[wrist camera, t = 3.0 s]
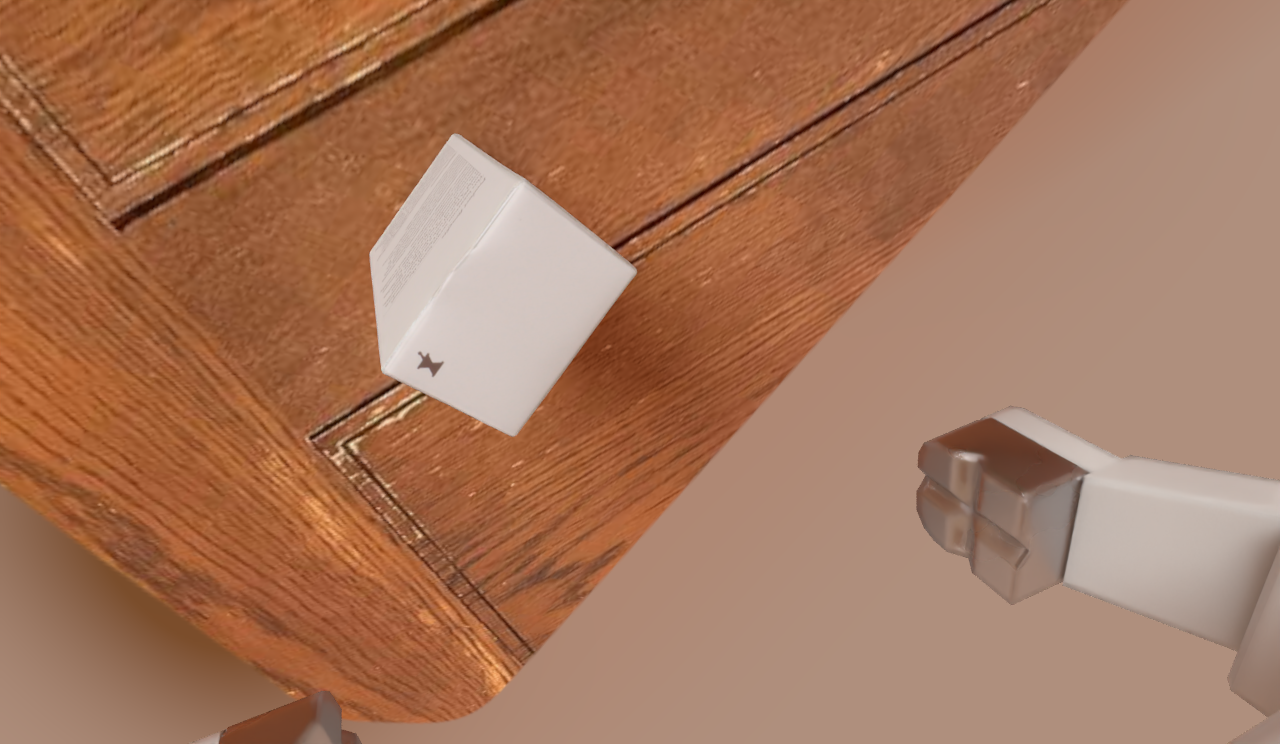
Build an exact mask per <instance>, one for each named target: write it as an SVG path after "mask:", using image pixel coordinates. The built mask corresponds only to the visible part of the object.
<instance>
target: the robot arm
mask: <svg viewBox="0 0 1280 744" xmlns="http://www.w3.org/2000/svg"><path fill="white" fill-rule="evenodd" d="M918 468H919V469H920V470H921V471H922V472H923V473H924V474H925V475H926V476H925V478H924V479H923V481H922V483H921V485H920V487H919V488H918V490H917V512H918V514H919V517H920V519H921V521H922V524H923V526H924V528H925V529H926V531H927V532H928V533H929V535H930V536H931V537H932V538H933V540H934V541H935V542H936V543H937V544H939V545H940V546H941V547H942V548H943V549H944V550H946V551H947V552H949V553H953V554H956V555H960V556H963V557H966V558H969V562H970V566H971V570H972V573H973V574H974V575H975V576H977V577H978V578H979V579H980V580H982V581H983V582H984V583H985V584H987V585H988V586H989V587H990V588H991V589H992V590H994V591H995V592H996V593H997V594H999V595H1000V596H1001V597H1002V598H1003V599H1005V600H1006V601H1007V602H1008V603H1009V604H1011V605H1014V604H1016V603H1018V602H1020V601H1022V600H1024V599H1027V598H1029V597H1031V596H1033V595H1035V594H1037V593H1039V592H1042V591H1044V590H1046V589H1048V588H1050V587H1052V586H1054V585H1057V584H1059V583H1061V582H1063V586H1066V587H1068V588H1071V589H1074V590H1076V591H1079V592H1082V593H1084V594H1087V595H1090V596H1092V597H1095V598H1098V599H1100V600H1103V601H1106V602H1108V603H1111V604H1113V605H1116V606H1119V607H1121V608H1124V609H1127V610H1129V611H1132V612H1134V613H1137V614H1140V615H1142V616H1145V617H1148V618H1150V619H1153V620H1156V621H1158V622H1161V623H1163V624H1166V625H1169V626H1171V627H1174V628H1177V629H1179V630H1182V631H1185V632H1188V633H1190V634H1193V635H1195V636H1198V637H1201V638H1203V639H1206V640H1208V641H1211V642H1214V643H1216V644H1219V645H1222V646H1224V647H1227V648H1229V649H1232V650H1235V651H1237V655H1236V657H1235V660H1234V663H1233V665H1232V668H1231V670H1230V673H1229V675H1228V682H1229V686H1230V690H1231V691H1232V692H1234V693H1235V694H1237V695H1238V696H1239V697H1241V698H1242V699H1243V700H1245V701H1246V702H1247V703H1249V704H1250V705H1252V706H1253V707H1254V708H1256V709H1257V710H1258V711H1260V712H1261V713H1262V714H1264V715H1265V716H1267V717H1268V718H1266V719H1265V720H1263V721H1262V722H1260V723H1259V724H1257V725H1255V726H1254V727H1252V728H1251V729H1249V730H1248V731H1246V732H1244V733H1243V734H1241V735H1240V736H1238V737H1237V738H1235V739H1234V740H1232V741H1230V742H1229V743H1227V744H1280V480H1275V479H1269V478H1263V477H1257V476H1251V475H1245V474H1239V473H1233V472H1227V471H1221V470H1215V469H1210V468H1203V467H1198V466H1191V465H1186V464H1179V463H1174V462H1167V461H1161V460H1156V459H1150V458H1143V457H1138V456H1132V455H1130V456H1128V457H1125V458H1123V459H1121V458H1119V457H1117V456H1115V455H1113V454H1111V453H1109V452H1108V451H1106V450H1103V449H1102V448H1100V447H1098V446H1096V445H1094V444H1092V443H1090V442H1088V441H1086V440H1084V439H1082V438H1081V437H1079V436H1077V435H1075V434H1072V433H1071V432H1069V431H1067V430H1065V429H1063V428H1061V427H1059V426H1057V425H1055V424H1053V423H1051V422H1050V421H1048V420H1046V419H1044V418H1042V417H1040V416H1038V415H1036V414H1034V413H1032V412H1030V411H1028V410H1027V409H1024V408H1021V407H1014V406H1009V407H1007V408H1005V409H1002V410H1000V411H997V412H995V413H993V414H991V415H988V416H986V417H984V418H982V419H980V420H977V421H974V422H972V423H969V424H967V425H965V426H962V427H960V428H958V429H955V430H953V431H951V432H949V433H946V434H944V435H941V436H939V437H937V438H934V439H932V440H929V441H927V442H925V443H924V444H923V446H922V447H921V449H920V451H919V455H918ZM341 712H342V709H341V708H340V706H339V705H338V703H337V702H336V700H335V699H334V697H333V696H332V694H331V693H330V691H321V692H318V693H315V694H313V695H310V696H308V697H305V698H302V699H300V700H297V701H295V702H292V703H290V704H287V705H284V706H282V707H279V708H277V709H274V710H271V711H269V712H266V713H264V714H261V715H258V716H256V717H253V718H251V719H248V720H246V721H243V722H240V723H238V724H235V725H232V726H230V727H228V728H227V729H225V730H222V731H220V732H217V733H215V734H212V735H209V736H207V737H204V738H202V739H199V740H196V741H194V742H191V743H188V744H362V743H361V741H360V740H359V738H358V736H357V734H356V733H352V732H349V731H345V730H342V729H341Z"/></svg>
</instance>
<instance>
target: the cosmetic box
mask: <svg viewBox="0 0 1280 744" xmlns="http://www.w3.org/2000/svg"><path fill="white" fill-rule="evenodd" d="M369 256H370V266H371V276H372V283H373V293H374V304H375V313H376V322H377V333H378V344H379V353H380V362H381V370H382V372H383V374H385V375H387V376H389V377H391V378H393V379H395V380H397V381H400V382H402V383H404V384H406V385H408V386H410V387H412V388H414V389H416V390H418V391H420V392H422V393H424V394H426V395H428V396H431V397H433V398H435V399H437V400H439V401H441V402H443V403H445V404H447V405H449V406H451V407H453V408H455V409H457V410H459V411H461V412H463V413H465V414H467V415H469V416H471V417H473V418H475V419H477V420H479V421H481V422H483V423H485V424H487V425H489V426H491V427H493V428H495V429H497V430H499V431H501V432H503V433H505V434H507V435H509V436H511V437H514V436H516V435H517V434H518V433H519V431H520V430H521V429H522V427H523V426H524V425H525V423H526V422H527V421H528V419H529V418H530V417H531V415H532V414H533V413H534V411H535V410H536V409H537V407H538V406H539V405H540V403H541V402H542V401H543V399H544V398H545V397H546V395H547V394H548V393H549V391H550V390H551V389H552V387H553V386H554V384H555V383H556V382H557V380H558V379H559V378H560V376H561V375H562V374H563V372H564V371H565V370H566V368H567V367H568V365H569V364H570V363H571V361H572V360H573V359H574V357H575V356H576V354H577V353H578V352H579V350H580V349H581V348H582V346H583V345H584V343H585V342H586V341H587V339H588V338H589V337H590V335H591V334H592V333H593V331H594V330H595V328H596V327H597V326H598V324H599V323H600V322H601V320H602V319H603V318H604V316H605V315H606V314H607V312H608V311H609V309H610V308H611V307H612V305H613V304H614V303H615V301H616V300H617V299H618V297H619V296H620V295H621V294H622V292H623V291H624V290H625V288H626V287H627V285H628V284H629V283H630V281H631V280H632V279H633V278H634V277H635V276H636V274H637V270H636V268H635V267H634V266H633V265H632V264H631V263H630V262H628V261H627V260H626V259H625V258H624V257H622V256H621V255H620V254H619V253H618V252H616V251H615V250H614V249H613V248H611V247H610V246H609V245H608V244H607V243H605V242H604V241H603V240H602V239H600V238H599V237H598V236H597V235H595V234H594V233H593V232H592V231H591V230H589V229H588V228H587V227H586V226H584V225H583V224H582V223H581V222H579V221H578V220H577V219H576V218H574V217H573V216H572V215H571V214H570V213H568V212H567V211H566V210H565V209H563V208H562V207H561V206H560V205H558V204H557V203H556V202H555V201H553V200H552V199H551V198H550V197H548V196H547V195H546V194H544V193H543V192H542V191H541V190H539V189H538V188H537V187H535V186H534V185H533V184H531V183H530V182H529V181H528V180H526V179H525V178H523V177H521V176H520V175H518V174H516V173H515V172H513V171H512V170H510V169H508V168H507V167H505V166H504V165H502V164H501V163H499V162H498V161H496V160H495V159H494V158H492V157H491V156H489V155H488V154H486V153H485V152H483V151H482V150H481V149H479V148H478V147H476V146H475V145H474V144H472V143H471V142H469V141H468V140H466V139H465V138H464V137H462V136H461V135H459V134H453V135H452V136H451V137H450V138H449V140H448V141H447V143H446V144H445V146H444V147H443V148H442V150H441V151H440V153H439V154H438V155H437V157H436V158H435V160H434V161H433V163H432V164H431V165H430V167H429V168H428V170H427V171H426V173H425V174H424V176H423V177H422V178H421V180H420V181H419V183H418V184H417V185H416V187H415V188H414V190H413V191H412V193H411V194H410V195H409V197H408V198H407V200H406V201H405V203H404V204H403V205H402V207H401V208H400V210H399V211H398V213H397V214H396V215H395V217H394V218H393V220H392V221H391V223H390V224H389V226H388V227H387V228H386V230H385V231H384V233H383V234H382V236H381V237H380V239H379V240H378V241H377V243H376V244H375V246H374V247H373V248H372V250H371V251H370V254H369Z"/></svg>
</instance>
